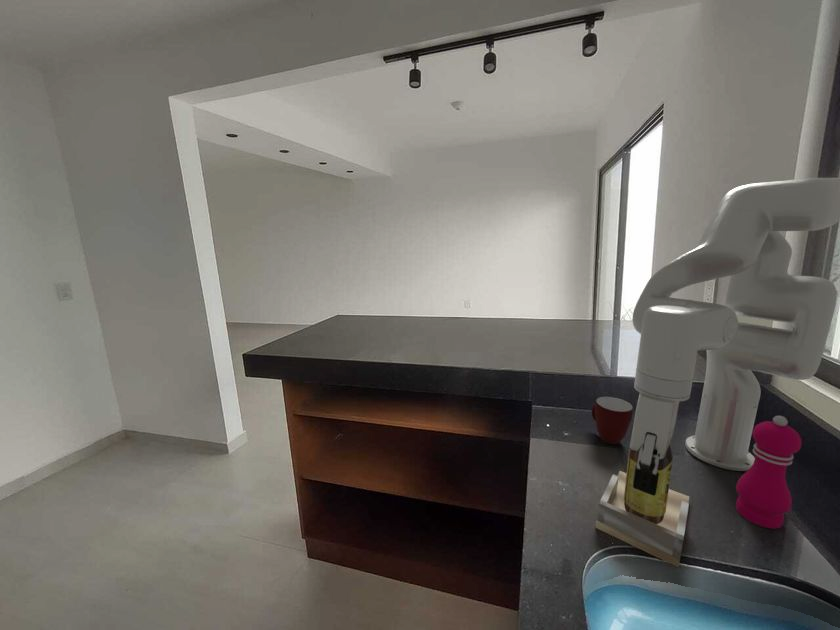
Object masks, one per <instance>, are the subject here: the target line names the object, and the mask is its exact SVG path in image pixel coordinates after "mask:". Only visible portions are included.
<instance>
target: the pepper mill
mask: <svg viewBox="0 0 840 630" xmlns="http://www.w3.org/2000/svg"><path fill="white" fill-rule="evenodd" d="M788 423H789V421H788V419H787V418H786V417H785V416H782V415H775V416H774V417H773V418H772V421H771V420H768V421H762V422H760V423H758V424H756V425H755V427H753V431H752V438H753V440H754V442H755V443H753V449H752V453H753V454H754V458H755V460H754V463H753V465H752V466H751V468H750V469H749V470H747V471H744V473H743V474H742V475H741V476H740V477H739V479H738V480H737V483H736V486H735V489H736V492H737V495H738V496H737V499H736V502H735V509H736V510H737V512H738V513H739V515H741V516H742V517H743V518H744V519H746V520H747V521H749V522H751V523H753V524H755V525H757V526H760V527H763V528H768V529H779V528H781V527H782V526H783V523H784V519H785V515H784V514H786V513H788V512H790V510H791V509H792V505H793V504H792V503H793V502H792V501H793V500H792V495H791V491H790V489H789V487H788V484H787V480H786V472H787V469H788V466H791V465H792V464H793V459H794V454H796V453H798V452H799V451H800V450H801V448H802V438H801V436H800V434H799V433H798V432H797V431H796V430H795V429H794V428H793V427H791V426H789V425H788Z"/></svg>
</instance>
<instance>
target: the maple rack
mask: <svg viewBox="0 0 840 630" xmlns="http://www.w3.org/2000/svg"><path fill="white" fill-rule="evenodd" d="M626 473H627V472H624V471H621V470H619V472H618V474H617V475H616V474H612V476H611V478H610V480H609V482H608V484H607V485H606V488H605V490H604V492H603V494H602V496H601V498H600V501H599V502H598V508H597V517H596V518H597V519H596V523H595V529H598V530H599V531H602V532H604V533H606V534H608V535H610V536H612V537H615V538H616V539H618V540H620V541H623V542H625V543H627V544H629V545H631V546H633V547H635V548H637V549H639V550H642V551H644V552H646V553H648V554H650V555H651V556H653V557H655V558H658V559H660V560H662V561H664V562H667V563H669V564H670V565H673V566H674V567H677V568H679V567H680V561H681V556H682V551H683V550H682V549H683V544H684V539H685V532H686V526H687V519H688V512H689V505H690V496H689V495H686V494H683V493H681V492H678V491H676V490H672V489H670V488H669V491H668V498H667V506H666V512H665V514H664V518H663V521H662V522H660V523H659V524H655V523H653V522H650V521H648V520H646V519H643V518H641V517H639V516H636V515H634V514H632V513H629V512H627V511H626V510H625V506H624V492H625V482H626Z"/></svg>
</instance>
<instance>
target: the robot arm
mask: <svg viewBox="0 0 840 630" xmlns="http://www.w3.org/2000/svg"><path fill="white" fill-rule="evenodd" d="M722 197H723V198H722V199H721V200H720V202H719V203H718V206H717V208H716V209H715V211H714V214H713V215H712V217H711V219H710V221H709V222H708V225H707V227H706V229H705V231H703V234H702V236H701V238H700V240H699V242H698V245H697V246H696V247H695V248H693V249H691V250H689V251H687V252H686V253H684V254H681V255H680V256H678V257H676V258H675V259H673V260H671V261H669V262H668V263H667V264H666V265H664V266H663V267H661V268H660V269H658V270H657V271H656V272H655V273H654V274H652V276H651V277H650V278H649V280H648V281H647V283H646V285H645V286H644V289H643V290H642V291H641V294H640V295H639V298H638V299H637V302H636V304H635V307H634V309H633V313H632V319H631V320H632V326H633V328H634V329H635V331H636V332H637V333H639V334H640V337H639V340H640V341H639V344H638V345H639V348H638V353H637V354H638V355H637V361H636V369H635V375H634V376H635V377H634V384H633V388H634V389H635V390H636V391H637V392H638V393H639V395H638V400H637V402H636V408H635V413H634V419H633V426H632V431H631V436H630V442H629V449H630V448H631V450H635V451H638V449H639V448H640V450H639V457H638V462H637V465H636V467H635V474H634V481H633V487H634V488H635V489H638V490H640V491H643V492H645V493H648V494H650V495H655V494H656V490H657V483H658V477H659V473H657V470H658V465H659V459H663V458H664V457H665V455H666V452H667V449H668V447H669V444H670V443H671V440H672V438H673V434H674V429H675V426H676V421H677V417H678V416H677V415H678V410H679V405H680V402H685V401H688V400H689V399H690V398H691V392H692V387H693V380H694V373H695V368H696V363H697V358H698V357H697V356H698V351H706V369H705V370H706V371H705V377H704V382H703V383H704V384H703V388H702V395H701V399H700V406H699V411H698V416H697V423H696V427H695V433H694V435H690V436H688V437H687V438H686V439H685V444H684V447H685V449H686V450H687V451H688V452H690V454H691V455H693V456H694V457H696V459H699V460H701V461H702V462H705V463H706V464H709V465H711V466H714V467H717V468H721V469H723V470H728V471H734V472H735V471H737V472H747V471H748V470H749V469H750V468H751V466H752V465H753V463H754V460H755V455H753V454H752V453H751V452H749V447H750V444H751V440H752V439H751V438H752V436H753V430H754V424H755V422H756V416H757V411H758V407H759V402H760V398H761V391H762V390H761V386H760V383H759V381H758V379H757V377H756V376H755V374H754V373H753V371H754V372H760V373H763V374H768V375H772V376H776V377H781V378H785V379H791V380H796V381H803V380H809V379H811V378H812V377H813V376H814V375H815V374H816V373H817V371H818V370H819V367H820V366H821V365H820V364H821V361H822V359H823V358H822V357H823V354H824V352H825V351H824V350H825V347H826V344H827V339H828V336H829V333H830V329H831V324H832V321H833V318H834V314H835V309H836V304H837V300H838V299H837V295H838V294H837V289H836V286H835V284H834V283H833V282H832V281H831V280H829V279H827V278H824V277H819V276H812V275H811V276H810V275H796V274H789V273H788V271H789V266H790V262H791V259H792V255H793V249H792V246H791V245H790V243H789V242H788V240H787V239H786V238H785V237H784V235H783V234H782V233H780V232H811V231H812V232H814V231H821V230H824V229H827V228H830V227H832V226H833V225H836V224H837V223H838V222H839V221H840V177H810V178H809V177H807V178H797V179H787V180H786V179H785V180H777V181H765V182H764V181H763V182H756V183H748V184H744V185H740V186H737V187H735V188H733V189H731V190H729V191H728V192H727V193H725V195H724V196H722ZM726 277H729V282H728V287H727V291H726V295H725V305H722V304H721V303H715V302H708V301H707V302H706V301H698V300H692V299H685V298H677V297H671V296H672V295H674V294H675V293H676V292H678V291H680V290H681V289H684V288H686V287H689V286H692V285H695V284H700V283H701V284H702V283H704V282H709V281H713V280H718V279H721V278H726ZM737 316H741V317H747V318H751V319H759V320H766V321H772V322H773V321H774V322H781V323H785V324H786V323H787V324H790V325H792V327H793V329H792V330H791V329H784V328H778V327H772V326H766V325H760V324H754V323H747V322H739V319H738V317H737ZM656 437H657V440H656ZM670 445H671V444H670ZM643 448H644V449H643ZM654 450H656V451H658V452H657V454H654V453H653V451H654ZM652 458H655V462H654V464H653V463H652Z"/></svg>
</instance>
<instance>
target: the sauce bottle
mask: <svg viewBox="0 0 840 630" xmlns="http://www.w3.org/2000/svg"><path fill="white" fill-rule="evenodd" d="M656 440H657V437H656ZM643 449H644V448H643ZM639 450H640V448H639V449H638V451H635V450H631V448H630V447H629V452H628V454H627V455H628V457H627V467H626V472H625V473H626V482H625V492H624V506H625V510H626V511H627V512H629V513H632V514H634V515H636V516H639V517H641V518H643V519H646V520H648V521H650V522H653V523H655V524H659V523H660V522H662V521H663V518H664V514H665V512H666V506H667V498H668V491H669V489H670V484H671V483H670V482H671V476H672V468H673V459H674V456H673V455H674V454H673V453H672V449H671V444H669V447H668V449H667V452H666V455H665V457H664V458H663V459H659V465H658V470H657V473H659V477H658V483H657V490H656V494H655V495H650V494H648V493H645V492H643V491H640V490H638V489H635V488H634V487H633V481H634V474H635V467H636V465H637V462H638V457H639ZM657 452H658V451H656V450H654V451H653V453H654V454H657ZM654 462H655V458H652V463H653V464H654Z"/></svg>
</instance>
